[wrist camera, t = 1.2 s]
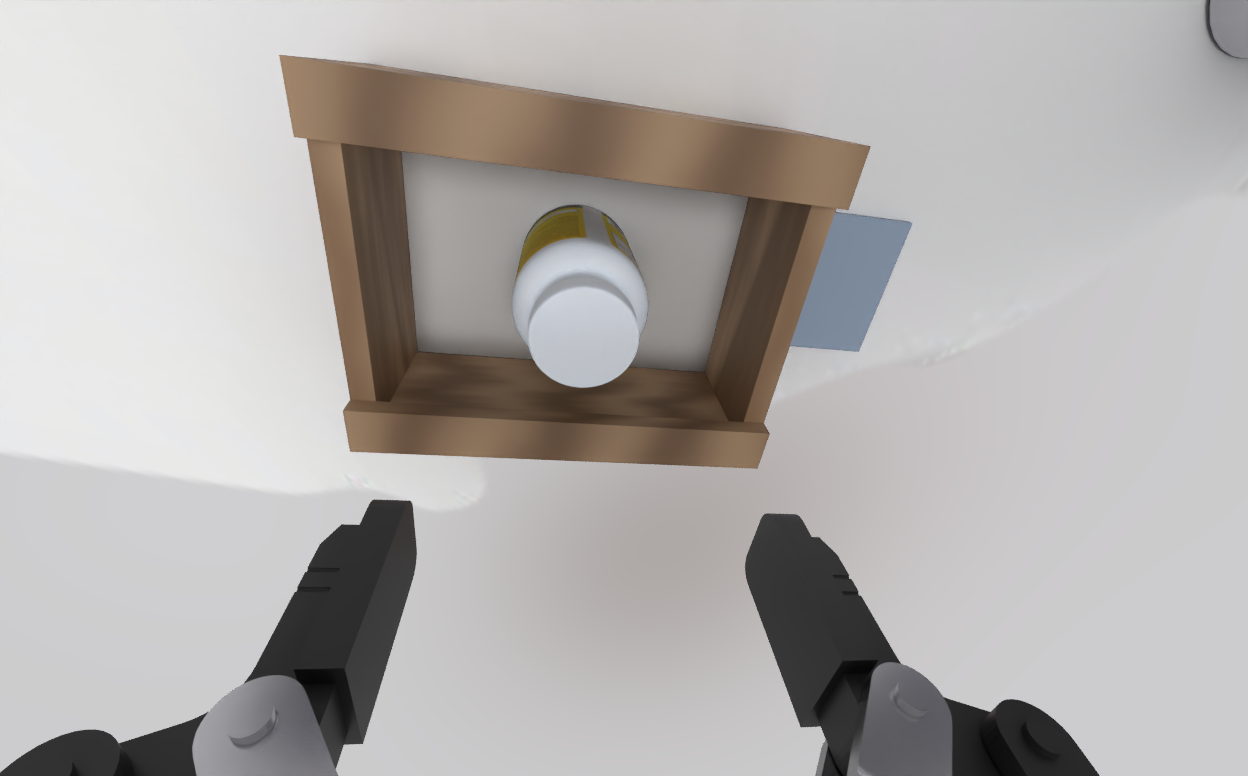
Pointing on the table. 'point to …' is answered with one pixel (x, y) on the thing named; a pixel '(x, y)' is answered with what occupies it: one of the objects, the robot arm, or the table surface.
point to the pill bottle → (579, 297)
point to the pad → (849, 281)
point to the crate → (579, 144)
